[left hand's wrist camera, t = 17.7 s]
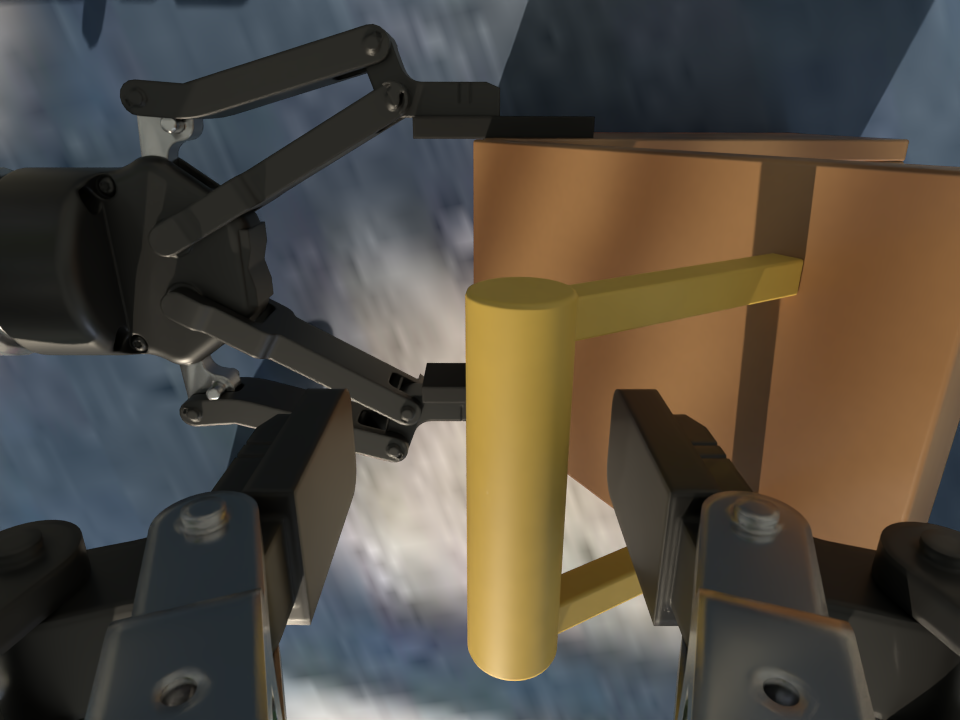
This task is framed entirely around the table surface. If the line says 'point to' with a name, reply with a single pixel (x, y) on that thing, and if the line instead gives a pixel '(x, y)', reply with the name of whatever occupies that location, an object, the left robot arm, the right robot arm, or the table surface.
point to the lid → (696, 351)
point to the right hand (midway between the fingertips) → (579, 264)
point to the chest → (752, 144)
